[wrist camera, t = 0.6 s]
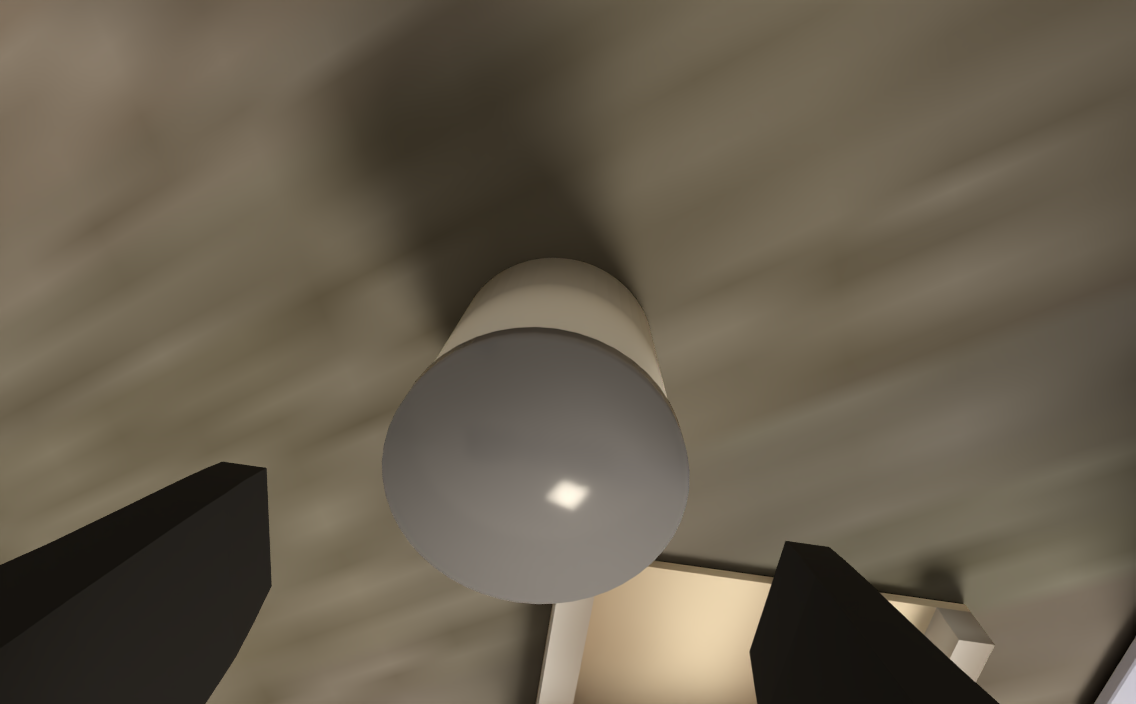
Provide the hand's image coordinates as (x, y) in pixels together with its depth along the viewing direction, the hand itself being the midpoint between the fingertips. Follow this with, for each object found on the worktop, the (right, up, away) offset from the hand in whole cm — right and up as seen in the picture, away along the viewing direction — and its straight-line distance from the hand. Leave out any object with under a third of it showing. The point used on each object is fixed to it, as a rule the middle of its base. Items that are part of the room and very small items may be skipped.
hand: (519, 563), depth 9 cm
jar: (0, +3, +7) cm, 8 cm away
